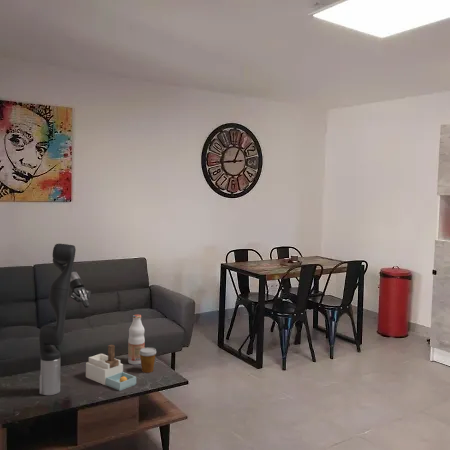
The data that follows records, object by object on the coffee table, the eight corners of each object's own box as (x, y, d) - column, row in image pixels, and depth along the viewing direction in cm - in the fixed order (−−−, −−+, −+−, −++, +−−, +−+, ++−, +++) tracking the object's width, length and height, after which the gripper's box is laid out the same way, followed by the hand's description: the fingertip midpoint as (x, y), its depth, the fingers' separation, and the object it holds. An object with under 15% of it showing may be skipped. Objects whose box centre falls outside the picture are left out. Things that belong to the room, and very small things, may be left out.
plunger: (110, 368, 258) (110, 347, 257) (105, 366, 260) (105, 346, 260) (118, 365, 262) (118, 345, 261) (113, 363, 265) (113, 343, 264)
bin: (119, 390, 250) (119, 383, 249) (105, 385, 256) (105, 377, 256) (136, 384, 258) (136, 377, 258) (122, 378, 265) (122, 371, 265)
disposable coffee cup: (157, 368, 282) (158, 347, 281) (153, 374, 273) (154, 353, 272) (141, 367, 283) (141, 346, 282) (136, 373, 274) (137, 352, 273)
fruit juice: (125, 363, 288) (125, 316, 286) (133, 358, 297) (134, 312, 295) (139, 365, 285) (140, 318, 283) (147, 360, 294) (148, 314, 291)
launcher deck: (104, 385, 256) (105, 365, 255) (85, 377, 266) (85, 358, 265) (122, 378, 266) (123, 359, 265) (103, 371, 275) (104, 352, 275)
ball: (116, 379, 255) (121, 384, 253) (123, 373, 256) (127, 379, 254) (119, 381, 258) (123, 387, 256) (125, 376, 259) (129, 381, 257)
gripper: (67, 279, 273) (80, 305, 266) (87, 276, 283) (100, 301, 277) (61, 287, 276) (74, 313, 270) (81, 284, 287) (94, 308, 280)
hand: (87, 306), depth 273 cm, fingers closed
